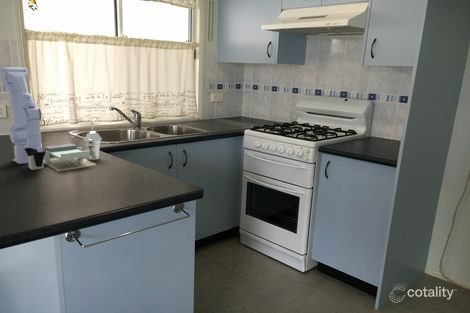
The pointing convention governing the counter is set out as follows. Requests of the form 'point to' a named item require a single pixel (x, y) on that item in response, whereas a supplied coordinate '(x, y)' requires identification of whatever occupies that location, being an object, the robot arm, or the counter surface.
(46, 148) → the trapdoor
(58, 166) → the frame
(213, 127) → the counter surface
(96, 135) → the cup with straw
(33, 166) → the white rectangular block
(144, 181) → the counter surface
